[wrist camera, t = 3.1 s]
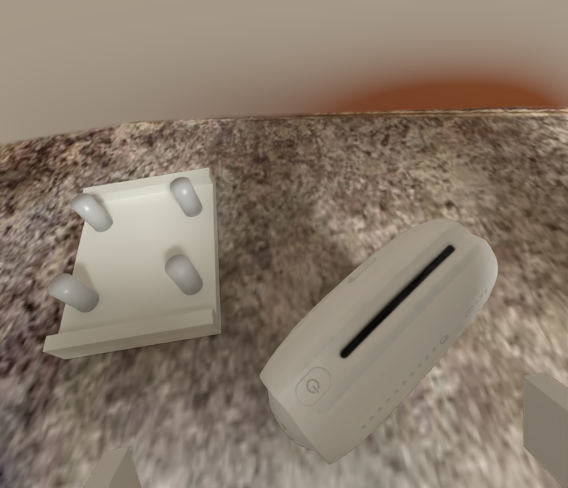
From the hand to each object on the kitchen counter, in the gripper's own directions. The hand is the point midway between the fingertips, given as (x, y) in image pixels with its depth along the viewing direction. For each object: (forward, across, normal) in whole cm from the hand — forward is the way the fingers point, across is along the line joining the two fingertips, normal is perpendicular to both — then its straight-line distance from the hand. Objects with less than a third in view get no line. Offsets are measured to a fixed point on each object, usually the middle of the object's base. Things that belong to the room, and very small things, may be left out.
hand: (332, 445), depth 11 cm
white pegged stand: (+17, -11, +4) cm, 21 cm away
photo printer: (+9, +3, -4) cm, 10 cm away
